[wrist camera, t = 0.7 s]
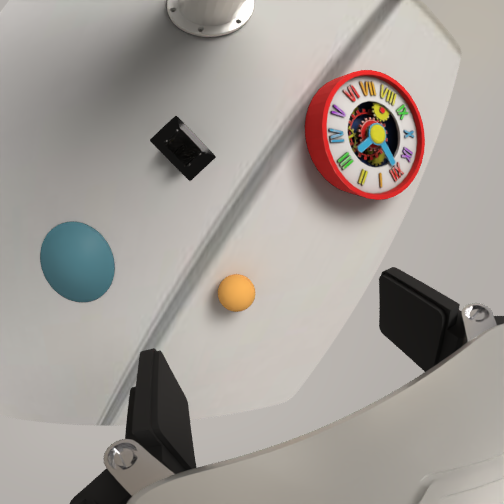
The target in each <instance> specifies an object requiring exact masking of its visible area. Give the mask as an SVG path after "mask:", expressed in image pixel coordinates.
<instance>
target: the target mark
mask: <svg viewBox="0 0 504 504" xmlns="http://www.w3.org/2000/svg"><path fill="white" fill-rule="evenodd" d="M40 260H41V266H42V270H43V273H44V275H45V278H46V279H47V281H48V283H49V284H50V285H51V287H52V288H53V289H54V290H55V291H56V292H57V293H59V294H60V295H61V296H63V297H65V298H67V299H69V300H72V301H76V302H89V301H93V300H95V299H98V298H99V297H101V296H102V295H103V294H104V293H105V292H106V291H107V290H108V289H109V287H110V285H111V283H112V280H113V277H114V270H115V267H114V258H113V254H112V252H111V249H110V247H109V245H108V243H107V242H106V240H105V239H104V238H103V237H102V235H101V234H100V233H99V232H97V231H96V230H95V229H93V228H92V227H90V226H88V225H86V224H83V223H80V222H66V223H62V224H60V225H58V226H56V227H54V228H53V229H52V230H51V231H50V232H49V233H48V234H47V236H46V237H45V239H44V241H43V244H42V247H41V253H40Z"/></svg>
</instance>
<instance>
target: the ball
mask: <svg viewBox="0 0 504 504" xmlns="http://www.w3.org/2000/svg"><path fill="white" fill-rule="evenodd" d="M218 298H219V301H220V303H221V304H222V305H223V306H224V307H225V308H226V309H228V310H230V311H235V312H238V311H243V310H245V309H247V308H248V307H249V306H250V305H251V304H252V303H253V301H254V298H255V288H254V285H253V283H252V282H251V281H250V280H249V279H248V278H247V277H245V276H243V275H239V274H234V275H230V276H228V277H226V278H225V279H224V280H223V281H222V282H221V283H220V285H219V288H218Z"/></svg>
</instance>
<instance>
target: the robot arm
mask: <svg viewBox="0 0 504 504" xmlns="http://www.w3.org/2000/svg"><path fill="white" fill-rule="evenodd" d="M253 9H254V0H167V11H168V15H169V17H170V19H171V20H172V22H173V23H174V24H175V25H176V26H177V27H178V28H180V29H181V30H183V31H185V32H187V33H190V34H192V35H196V36H201V37H218V36H222V35H227V34H229V33H232V32H234V31H236V30H238V29H240V28H241V27H242V26H243V25H244V24H245V23H246V22H247V21H248V20H249V18H250V16H251V15H252V12H253ZM173 11H175V12H173ZM237 23H239V24H237ZM199 31H202V32H199ZM379 293H380V320H379V322H380V323H379V327H380V330H381V332H382V333H383V334H384V335H385V336H386V337H387V338H388V339H389V340H391V341H392V342H393V343H394V344H395V345H396V346H397V347H398V348H399V349H401V350H402V351H403V352H404V353H405V354H406V355H407V356H408V357H410V358H411V359H412V360H413V361H414V362H415V363H416V364H417V365H418V366H419V367H421V368H422V369H423V370H424V371H425V373H423V374H422V375H420V376H419V377H417V378H415V379H414V380H412V381H410V382H409V383H407V384H406V385H404V386H402V387H401V388H399V389H397V390H395V391H394V392H392V393H390V394H388V395H387V396H385V397H383V398H381V399H379V400H378V401H376V402H374V403H372V404H370V405H368V406H366V407H365V408H362V409H360V410H358V411H356V412H354V413H352V414H350V415H348V416H346V417H344V418H342V419H340V420H338V421H335V422H333V423H331V424H329V425H326V426H324V427H321V428H319V429H317V430H315V431H312V432H309V433H307V434H304V435H302V436H299V437H297V438H294V439H292V440H289V441H286V442H283V443H280V444H277V445H274V446H271V447H269V448H266V449H262V450H259V451H256V452H253V453H250V454H246V455H243V456H240V457H236V458H233V459H229V460H225V461H221V462H218V463H214V464H210V465H206V466H202V467H198V468H196V463H195V456H194V449H193V441H192V434H191V426H190V417H189V408H188V402H187V399H186V397H185V395H184V393H183V391H182V389H181V388H180V386H179V384H178V382H177V380H176V379H175V377H174V375H173V373H172V371H171V369H170V367H169V365H168V363H167V361H166V359H165V357H164V355H163V354H162V352H161V351H156V349H154V348H153V349H150V350H146V351H142V352H140V358H139V365H138V373H137V382H136V387H132V388H131V390H130V396H129V405H128V414H127V424H126V435H125V439H122V440H119V441H116V442H114V443H113V444H111V445H110V447H108V448H107V450H106V452H105V454H104V464H105V466H106V468H107V469H105V470H104V471H103V472H102V473H101V474H100V475H99V476H98V477H96V478H95V479H94V480H93V481H92V482H91V483H90V484H89V485H87V486H86V488H84V489H83V490H82V491H81V492H80V493H78V494H77V495H76V496H75V497H74V498H73V499H72V500H71V502H70V504H504V316H493V313H492V311H491V309H490V308H488V307H487V306H485V305H483V304H479V303H472V304H468V305H466V306H465V307H464V308H463V309H462V312H461V311H460V310H459V304H458V303H457V302H455V301H453V300H452V299H450V298H448V297H446V296H445V295H443V294H441V293H440V292H438V291H436V290H435V289H433V288H431V287H429V286H427V285H426V284H424V283H422V282H421V281H419V280H417V279H415V278H413V277H412V276H410V275H408V274H406V273H405V272H403V271H401V270H399V269H397V268H395V267H392V268H390V269H388V270H385V271H383V272H382V274H381V276H380V278H379Z"/></svg>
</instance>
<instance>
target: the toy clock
mask: <svg viewBox="0 0 504 504" xmlns="http://www.w3.org/2000/svg"><path fill="white" fill-rule="evenodd" d="M305 137H306V143H307V147H308V151H309V154H310V156H311V159H312V161H313V163H314V164H315V166H316V168H317V170H318V171H319V172H320V173H321V175H322V176H323V177H324V178H325V179H326V180H327V181H328V182H329V183H331V184H332V185H333V186H335V187H337V188H338V189H340V190H343V191H346V192H348V193H352V194H355V195H359V196H362V197H365V198H369V199H376V200H379V199H387V198H391V197H394V196H396V195H398V194H399V193H401V192H402V191H403V190H405V189H406V188H407V187H408V186H409V185H410V184H411V182H412V181H413V180H414V178H415V176H416V175H417V173H418V171H419V168H420V166H421V163H422V159H423V155H424V146H425V138H424V128H423V123H422V119H421V116H420V113H419V111H418V108H417V106H416V104H415V102H414V101H413V99H412V97H411V96H410V94H409V93H408V92H407V91H406V90H405V88H404V87H403V86H402V85H400V84H399V83H398V82H397V81H396V80H394V79H393V78H391V77H390V76H388V75H385V74H383V73H381V72H377V71H372V70H361V71H357V72H353V73H350V74H347V75H344V76H342V77H339V78H336V79H334V80H332V81H330V82H328V83H326V84H325V85H324V86H323V87H321V88H320V89H319V90H318V92H317V93H316V94H315V95H314V97H313V99H312V101H311V103H310V105H309V107H308V111H307V115H306V121H305Z"/></svg>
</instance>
